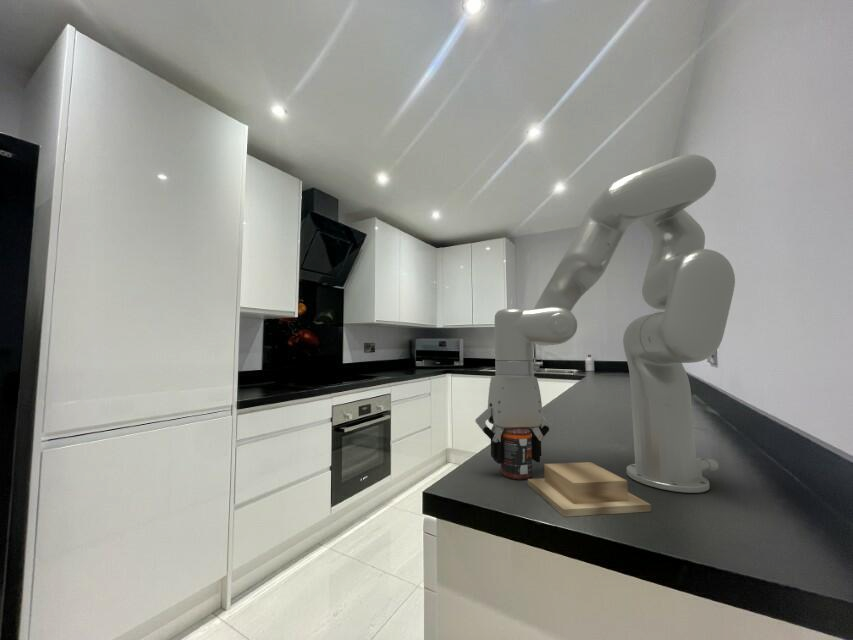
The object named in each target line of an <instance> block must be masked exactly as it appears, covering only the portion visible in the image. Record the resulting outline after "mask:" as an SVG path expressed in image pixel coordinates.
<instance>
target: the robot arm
mask: <svg viewBox="0 0 853 640" xmlns="http://www.w3.org/2000/svg"><path fill="white" fill-rule="evenodd" d="M715 167H716V166H715V165H714V163H713V162H712V161H711V160H710V159H708V158H707V157H706V156H702V155H699V154H698V155H697V154H685V155H679V156H677V157H674V158H673V157H672V158H670V159H668V160H665V161H663V162H659V163H658V164H654V165H651V166H650V167H649V166H648V167H646V168H644V169H641V170H639V171H636V172H633V173H630V174H628V175H626V176H624V177H621V178H619V179H617V180H615V181H614V182H612V183H611V184H609V185H608V186H607V188H605V189H604V190H603V192H602V193H601V194H599V196H598V197H596V200H595V201H593V203H592V204H591V205H590V207H589V208H588V209H587V211H586V213H585V215H584V217H583V219H582V221H581V223H580V224H579V226H578V228H577V230H576V232H575V234H574V236H573V238H572V239H571V242H570V243H569V245H568V247H567V249H566V251H565V252H564V255H563V257H562V258H561V260H560V262H559V263H558V264H557V266H556V268H555V271H554V272H553V274H552V276H551V278H550V280H549V281H548V283H547V284H546V286H545V288H544V290H543V291H542V293H541V294H540V297H539V299H538V300H537V302H536V303H535V306H534V307H533V308H530V309H526V308H525V309H524V308H518V307H517V308H504V309H500V310H498V311H496V313H495V315H494V359H495V361H494V364H495V375H492V376H491V377H490V382H489V387H488V397H487V398H488V399H487V408H486V409H485V410H484V411H483V412H482V413H481V414H480V415H478V417H476V419H475V420H474V422H475V423H476V424H477V425H478V427H479V428H480V429H481V431H482V432H483V433H484V434H485V435H486V436H487V437H488V438H489V439H490V457H491V458H492V459H493V460H494V462H495V463H497V464H498V465H501V463H502V444H501V440H500V439H501V437H500V436H501V434H502V432H503V430H504V429H511V428H516V427H524V428H529V429H530V430H531V443H532V461H534V462H536V463H541V456H542V442H543V441H544V440H545V439H544V438H545V436H546V435H547V434H548V432H549V431H550V428H551V427H552V426H553V425H554V423H555V421H556V419H555V418H554V417H553V416H552V415H550V414H549V412H547V411H546V410H545V409H543V403H542V395H541V390H540V389H541V388H540V385H539V381H538V377H537V376H535V374H536V373H535V372H536V371H540V367H541V366H540V365H539V363H535V360H534V344H535V345H537V346H538V345H539V346H542V347H543V346H554V345H555V346H558V345H561V344H564V343H566V342H569V341H570V340H571V339H573V337H574V336H575V335H576V333H577V329H578V322H577V317H576V316H575V315H574V313H573V312H572V311H573V308H574V307H575V305H576V304H577V303H578V302H579V300H580V299H581V298H582V297H583V296H584V295H585V294H586V292H588V291H589V290H590V289H591V288H592V287H593V286H594V285H595V284H596V283H598V281H599V280H600V278H602V276H603V275H604V274H605V273H606V272H605V271H606V270H607V268H608V266H609V264H610V262H611V260H612V258H613V256H614V254H615V252H616V250H617V248H618V246H619V244H620V243H621V240H622V239H623V236H624V235H625V233H626V231H627V230H628V228H629V227H630V226H632V225H633V224H635V223H636V222H637V221H639V222H640V223H641V225H643V226H644V227H645V228H646V229H647V231H648V232H649V233H650V235H651V239H652V243H651V244H652V246H651V252H650V256H649V261H648V263H647V267H646V271H645V275H644V278H643V284H642V286H641V287H642V288H641V291H642V292H641V294H642V297H643V301H644V302H645V303H646V304H647V305H648V306H649V307H651V308H653V309H656V310H661V311H658V312H655V313H650V314H645V315H643V316H640V317H637V318H636V319H634V320H632V322H630V323H628V326H627V327H626V329H625V331H624V333H623V338H622V339H623V340H622V341H623V342H622V344H623V351H624V354H625V358H626V362H627V366H628V371H629V374H628V375H629V382H630V383H629V384H630V399H631V400H630V402H631V416H632V431H633V432H632V434H633V448H634V463H632V464H629V465H627V466H626V474H627V475H628V477H629V478H631V479H632V480H634V481H635V482H638V483H641V484H643V485H646V486H649V487H653V488H656V489H660V490H664V491H665V490H666V491H669V492H677V493H685V494H691V493H692V494H696V493H699V494H700V493H704V492H707V491H708V490H710V489H711V488H710V487H711V486H710V481H709V480H708V478H706V477H704V476H703V473H704V472H705V471H708V472H709V471H710V472H711V471H717V470H719V468H720V467H719V463H718V462H717V461H716V460H715V459H712V458H710V459H702V458H700V457H697V456H696V455H697V454H696V453H697V452H696V444H695V431H694V421H693V420H694V419H693V406H692V392H691V391H692V390H691V384H690V380H689V376H688V373H687V371H686V368H685V367H684V365H683V364H692V363H694V364H695V363H698V362H703V361H705V360H707V359H710V357H711V356H714V354H715V353H716V352H717V351H718V349H719V347H720V345H721V343H722V341H723V338H724V334H725V331H726V327H727V322H728V317H729V314H730V309H731V305H732V301H733V297H734V296H733V295H734V291H735V288H736V287H735V286H736V277H735V271H734V268H733V265H732V263H730V261H729V260H728V258H727V257H725V256H724V255H723V254H722V253H720V252H718V251H716V250H713V249H707V248H705V244H706V235H705V231H704V228H703V227H702V226H701V225H700V224H699V223H698V222H697V220H695V219H694V218H693V216H692V215H691V214H689V212H687V211H686V210H685V209H686V208H687V207H689V206H691V205H692V204H694V203H695V202H697V201H698V200H700V199H701V198H703V197H704V196H706V194H708V192H710V190H711V189H712V188H713V187H714V185H715V182H716V178H717V170H716V168H715ZM662 310H663V311H662ZM487 421H488V423H489V424H491V428H490V427H489V426H488V425H487V423H486V422H487Z"/></svg>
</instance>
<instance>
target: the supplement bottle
mask: <svg viewBox="0 0 853 640" xmlns="http://www.w3.org/2000/svg"><path fill="white" fill-rule="evenodd" d="M531 437H532V435H531V430H530V429H529V428H524V427H516V428H511V429H504V430H503V432H502V434H501V436H500V442H501V444H502V463H501V464H500V469H501V470H500V472H501V475H503V476H504V477H507V478H509V479H512V480H513V479H514V480H528V479H531V478H532V475H533V459H532V443H531Z"/></svg>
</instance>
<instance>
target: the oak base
mask: <svg viewBox="0 0 853 640" xmlns="http://www.w3.org/2000/svg"><path fill="white" fill-rule="evenodd" d="M543 467H544V468H543V469H544V473H543V474H544V477H542V478H541V477H540V478H528V479H527V486H529V488H530V489H532V490H533V491H534V492H536V493H537V495H539V496H540V497H541V498H542V499H544V500H545V501H546V502H547V503H548V504H549V505H550V506H552V508H553V509H555V510H556V512H558V513H559V514H560V515H561V516H562V517H563V518H567V517H582V516H586V517H587V516H599V515H613V514H614V515H615V514H616V515H617V514H630V513H631V514H633V513H648V512H652V505H651V504H650V503H649V502H647V501H645V500H643V499H642V498H640V497H638V496H636V495H634V494H632V493H630V492H629V491H628V490H629V489H628V481H627V479H625V478H623V477H621V476H619V475H617V474H615V473H613V472H611V471H610V470H606V468H603V467H601V466H599V465H597V464H595V463H593V462H591V461H588V462H587V461H585V462H582V461H581V462H560V463H559V462H558V463H543Z"/></svg>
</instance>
